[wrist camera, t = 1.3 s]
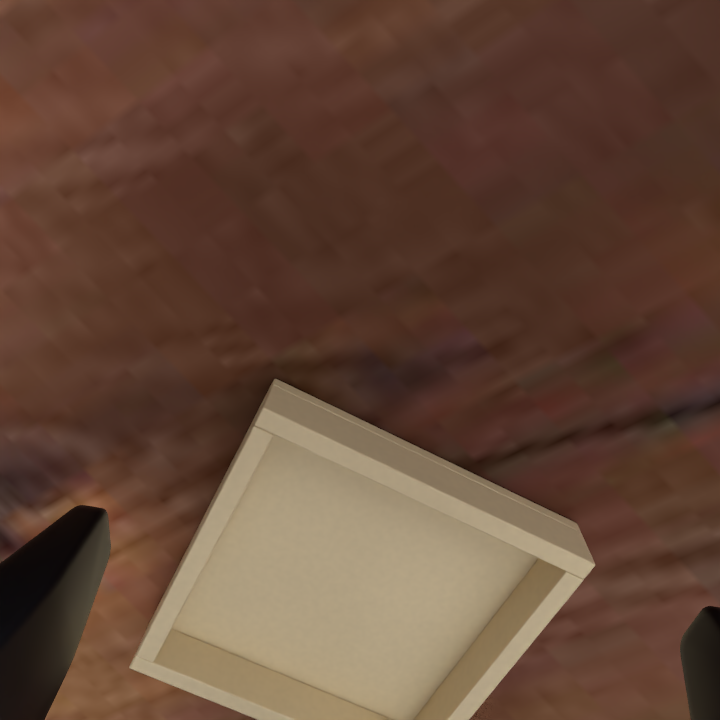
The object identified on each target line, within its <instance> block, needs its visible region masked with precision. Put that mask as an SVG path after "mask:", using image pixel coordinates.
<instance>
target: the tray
mask: <svg viewBox="0 0 720 720" xmlns="http://www.w3.org/2000/svg"><path fill="white" fill-rule="evenodd" d="M594 566H595V563H594V560H593V558H592V556H591V554H590V551H589V549H588V547H587V545H586V543H585V540H584V538H583V536H582V534H581V532H580V529H579V527H578V524H577V523H575V522H573V521H571V520H569V519H567V518H565V517H563V516H560V515H558V514H556V513H554V512H552V511H550V510H548V509H546V508H544V507H542V506H540V505H538V504H536V503H533V502H531V501H529V500H527V499H525V498H523V497H521V496H519V495H517V494H515V493H513V492H511V491H508V490H506V489H504V488H502V487H500V486H498V485H496V484H494V483H492V482H490V481H488V480H486V479H484V478H481V477H479V476H477V475H475V474H473V473H471V472H469V471H467V470H465V469H463V468H461V467H459V466H456V465H454V464H452V463H450V462H448V461H446V460H444V459H442V458H440V457H438V456H436V455H434V454H432V453H429V452H427V451H425V450H423V449H421V448H419V447H417V446H415V445H413V444H411V443H409V442H407V441H404V440H402V439H400V438H398V437H396V436H394V435H392V434H390V433H388V432H386V431H384V430H382V429H380V428H377V427H375V426H373V425H371V424H369V423H367V422H365V421H363V420H361V419H359V418H357V417H355V416H353V415H350V414H348V413H346V412H344V411H342V410H340V409H338V408H336V407H334V406H332V405H330V404H328V403H325V402H323V401H321V400H319V399H317V398H315V397H313V396H311V395H309V394H307V393H305V392H303V391H301V390H298V389H296V388H294V387H292V386H290V385H288V384H286V383H284V382H282V381H280V380H278V379H274V380H273V382H272V384H271V386H270V388H269V390H268V392H267V394H266V396H265V398H264V400H263V402H262V404H261V406H260V407H259V409H258V411H257V413H256V415H255V417H254V419H253V421H252V423H251V425H250V427H249V429H248V431H247V433H246V435H245V437H244V439H243V441H242V443H241V445H240V447H239V449H238V450H237V452H236V454H235V456H234V458H233V460H232V462H231V464H230V466H229V468H228V470H227V472H226V474H225V476H224V478H223V480H222V482H221V484H220V486H219V488H218V490H217V492H216V493H215V495H214V497H213V499H212V501H211V503H210V505H209V507H208V509H207V511H206V513H205V515H204V517H203V519H202V521H201V523H200V525H199V527H198V529H197V531H196V533H195V535H194V536H193V538H192V540H191V542H190V544H189V546H188V548H187V550H186V552H185V554H184V556H183V558H182V560H181V562H180V564H179V566H178V568H177V570H176V572H175V574H174V576H173V578H172V579H171V581H170V583H169V585H168V587H167V589H166V591H165V593H164V595H163V597H162V599H161V601H160V603H159V605H158V607H157V609H156V611H155V613H154V615H153V617H152V619H151V621H150V623H149V625H148V627H147V629H146V631H145V634H144V636H143V638H142V640H141V642H140V645H139V647H138V649H137V651H136V653H135V656H134V658H133V660H132V662H131V664H130V669H133V670H135V671H138V672H140V673H143V674H145V675H148V676H150V677H153V678H155V679H158V680H160V681H163V682H165V683H168V684H170V685H173V686H175V687H178V688H180V689H183V690H185V691H188V692H190V693H193V694H195V695H198V696H200V697H203V698H205V699H208V700H210V701H213V702H215V703H218V704H220V705H223V706H225V707H228V708H230V709H233V710H235V711H238V712H240V713H243V714H245V715H248V716H250V717H253V718H255V719H258V720H469V719H470V718H471V717H472V715H473V714H474V713H475V712H476V710H477V709H478V708H479V707H480V706H481V704H482V703H483V702H484V701H485V700H486V698H487V697H488V696H489V695H490V693H491V692H492V691H493V690H494V689H495V687H496V686H497V685H498V684H499V682H500V681H501V680H502V679H503V678H504V676H505V675H506V674H507V673H508V672H509V670H510V669H511V668H512V667H513V665H514V664H515V663H516V662H517V661H518V659H519V658H520V657H521V656H522V654H523V653H524V652H525V651H526V650H527V648H528V647H529V646H530V645H531V644H532V642H533V641H534V640H535V639H536V637H537V636H538V635H539V634H540V633H541V631H542V630H543V629H544V628H545V626H546V625H547V624H548V623H549V622H550V620H551V619H552V618H553V617H554V616H555V614H556V613H557V612H558V611H559V609H560V608H561V607H562V606H563V605H564V603H565V602H566V601H567V600H568V599H569V597H570V596H571V595H572V594H573V592H574V591H575V590H576V589H577V588H578V586H579V585H580V584H581V583H582V581H583V579H584V578H585V577H586V576H587V575H588V574H589V572H590V571H591V570H592V569H593V568H594Z"/></svg>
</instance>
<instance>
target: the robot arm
mask: <svg viewBox="0 0 720 720" xmlns="http://www.w3.org/2000/svg"><path fill="white" fill-rule="evenodd" d="M110 549H111V542H110V532H109V521H108V514H107V512H106V510H105V509H102V508H97V507H91V506H85V505H79V506H76V507H74V508H73V509H71V510H70V511H69V512H67V513H66V514H65V515H63V516H62V517H61V518H59V519H58V520H57V521H56V522H54V523H53V524H52V525H50V526H49V527H48V528H46V529H45V530H44V531H42V532H41V533H40V534H38V535H37V536H36V537H34V538H33V539H32V540H30V541H29V542H28V543H27V544H25V545H24V546H23V547H21V548H20V549H19V550H17V551H16V552H15V553H13V554H12V555H11V556H9V557H8V558H7V559H5V560H4V561H3V562H1V563H0V720H44V719H45V717H46V715H47V713H48V711H49V709H50V707H51V705H52V703H53V701H54V699H55V697H56V694H57V692H58V690H59V688H60V686H61V684H62V682H63V680H64V678H65V676H66V673H67V671H68V669H69V667H70V665H71V662H72V660H73V658H74V655H75V652H76V650H77V647H78V644H79V641H80V639H81V636H82V633H83V630H84V627H85V625H86V622H87V619H88V616H89V613H90V610H91V608H92V605H93V602H94V599H95V596H96V594H97V591H98V588H99V585H100V582H101V579H102V577H103V574H104V571H105V568H106V565H107V562H108V559H109V555H110ZM680 653H681V660H682V666H683V672H684V679H685V685H686V691H687V698H688V704H689V710H690V716H691V720H720V608H719V607H713V606H708V607H705V608H703V609H702V610H701V612H700V613H699V614H698V616H697V617H696V618H695V620H694V621H693V622H692V624H691V625H690V627H689V628H688V629H687V631H686V632H685V633H684V635H683V637H682V640H681V645H680Z"/></svg>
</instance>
